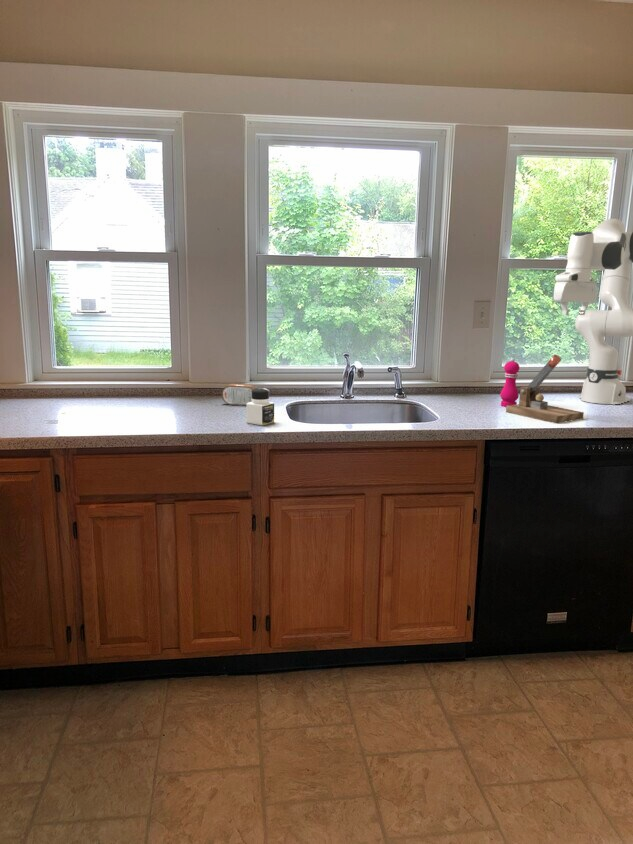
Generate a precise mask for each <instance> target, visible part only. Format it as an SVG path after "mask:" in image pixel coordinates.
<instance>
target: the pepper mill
mask: <svg viewBox="0 0 633 844" xmlns="http://www.w3.org/2000/svg"><path fill="white" fill-rule="evenodd" d="M503 370H504V371H505V373H504V377H505V383H504V386H503V388H502V389H501V390H500V394H499V396H500V399H501V401H500V406H501V407H503V406H504V407H503V408H506V406H509V405H516V404H518V402H517V400H518V399H519V398H520V393H519V391H518V387H517V386H516V385H517V384H516V382H517V378H518V375H519V374H518V372H519V371H520V364H519V363H518V362H517V361H516V360H515V357H510V358H509V361H508V362H506V363H505V364H504V366H503Z"/></svg>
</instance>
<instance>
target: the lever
mask: <svg viewBox="0 0 633 844" xmlns="http://www.w3.org/2000/svg"><path fill="white" fill-rule="evenodd" d="M561 361H562V358H561V356H559V355H558V354H553V356H552V357H551V358H550V359H548V361H547V362H546V364H545V365H544V366H543V367H542V369H541V370H540V371H539V372H538V373H537V375H535V377H534V378H533V379H532V381H531V382H530V383H529V384H528V385H527V387H529V388H531V389H530V396H531V395H532V394H533V393H534V391H535V390H536V389H537V388H538V387H539V388H540V385H542V383H543V382H544V381H545V380H546V378H547V377H549V375H550V374H551V373H552V372H553V370H554V369H555V368H556V367H557V366H558V365H559V363H560V362H561Z"/></svg>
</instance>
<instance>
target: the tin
mask: <svg viewBox="0 0 633 844" xmlns="http://www.w3.org/2000/svg"><path fill="white" fill-rule="evenodd" d="M253 389H257V387H256V386H254V385H252V384H241V383H228V384H227V385H225V387H224V388H223V389H222V390H221V398H222V401H224V403H226V405H230V406H240V405H241V406H243V407H244V406H245V407H246V404H247V403H250V402H253V401H252V390H253Z"/></svg>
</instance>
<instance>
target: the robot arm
mask: <svg viewBox="0 0 633 844" xmlns="http://www.w3.org/2000/svg"><path fill="white" fill-rule="evenodd" d="M625 227H626V226H625V224H624V223H623V222H622V220H620V219H618V218H609V219H606V220H604V221H602V222H600V223H599V224H598V225H597V226H595V227H594V229H593V230H592V231H576V232H573V233H571V235H570V238H569V241H568V246H567V255H566V259H567V263H566V267H565V271H563V272H561V273H558V274H556V275H555V285H554V287H553V300H554V302H555V303H560V308H561V310H562V311H561V315H562V316H569V314H570V313H569V312H570V310H569V309H568V306H569V303H580V304H581V308H580V309H579V310H578V314H577V316H576V317H575V321H574V326H575V330H576V331H577V333H578V334H579V335H581V336H582V337H583V338H584V340H585V341H586V343H587V345H588V346H587V347H588V351H589V353H588V355H589V356H588V357H589V358H588V367H587V369H586V378H585V379H584V381H583V384H582V390H581V393H580V395H579V396H578V399H580V398H581V399H580V401H583V402H586V403H591V404H600V405H601V404H602V405H615V404H620V405H622V404H621V403H623V404H625V403H624V402H626V403H628V402H627V401H629V402H631V401H632V399H631V398H629V397H626V394H627V393H626V392H627V391H626V390H627V389H626V386H625V384H623V383H622V382H621V381H620V379H619V376H621V375H622V374H623V370H621V369H617V367H618V361H619V352H618V350H617V349H616V348H615V347H614V346H612V345H610V344H609V343H607V342H606V341H605V337H608V338H610V337H611V338H629V337H633V308H632V307H631V305H630V303H629V289H630V283H631V275H632V265H631V264H632V263H633V231H631V232H630V231H629V232H627V231H626V229H625ZM592 270H604V272H603V274H602V278H601V284H600V287H599V293H598V292H597V289H598V287H597V283H596V280H595V278H594V277H592ZM597 293H598V297H599V298H598V299H599V300H600V301H601V303H602V304H604V305H606V306H607V307H610V308H611V310H606V309H604V310H603V309H589V310H587V309H588V307H589V304H590V303H591V304H593V303H595V302H596V301H597ZM630 400H631V401H630Z"/></svg>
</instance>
